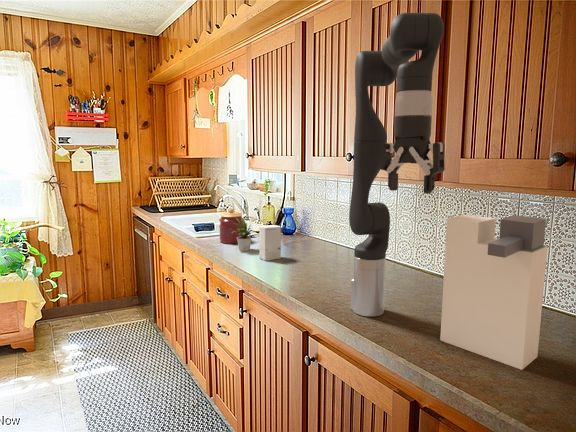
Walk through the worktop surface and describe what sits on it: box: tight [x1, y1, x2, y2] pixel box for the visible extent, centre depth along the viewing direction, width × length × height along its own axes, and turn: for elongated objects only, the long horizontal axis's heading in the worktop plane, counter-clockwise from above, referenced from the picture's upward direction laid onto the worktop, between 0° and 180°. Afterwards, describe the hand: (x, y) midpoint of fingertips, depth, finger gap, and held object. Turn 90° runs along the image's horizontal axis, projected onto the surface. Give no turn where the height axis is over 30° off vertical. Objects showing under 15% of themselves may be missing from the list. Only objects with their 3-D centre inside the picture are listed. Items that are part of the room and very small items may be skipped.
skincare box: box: [258, 224, 282, 262], centre depth 194 cm, size 8×6×15 cm
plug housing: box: [488, 214, 547, 258], centre depth 95 cm, size 7×16×6 cm, turn 131°
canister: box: [218, 208, 245, 245], centre depth 228 cm, size 13×13×18 cm
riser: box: [439, 214, 548, 371], centre depth 105 cm, size 20×9×32 cm, turn 41°
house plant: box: [232, 217, 255, 252], centre depth 210 cm, size 14×14×16 cm
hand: (409, 191), depth 94 cm, fingers open, 8 cm apart
